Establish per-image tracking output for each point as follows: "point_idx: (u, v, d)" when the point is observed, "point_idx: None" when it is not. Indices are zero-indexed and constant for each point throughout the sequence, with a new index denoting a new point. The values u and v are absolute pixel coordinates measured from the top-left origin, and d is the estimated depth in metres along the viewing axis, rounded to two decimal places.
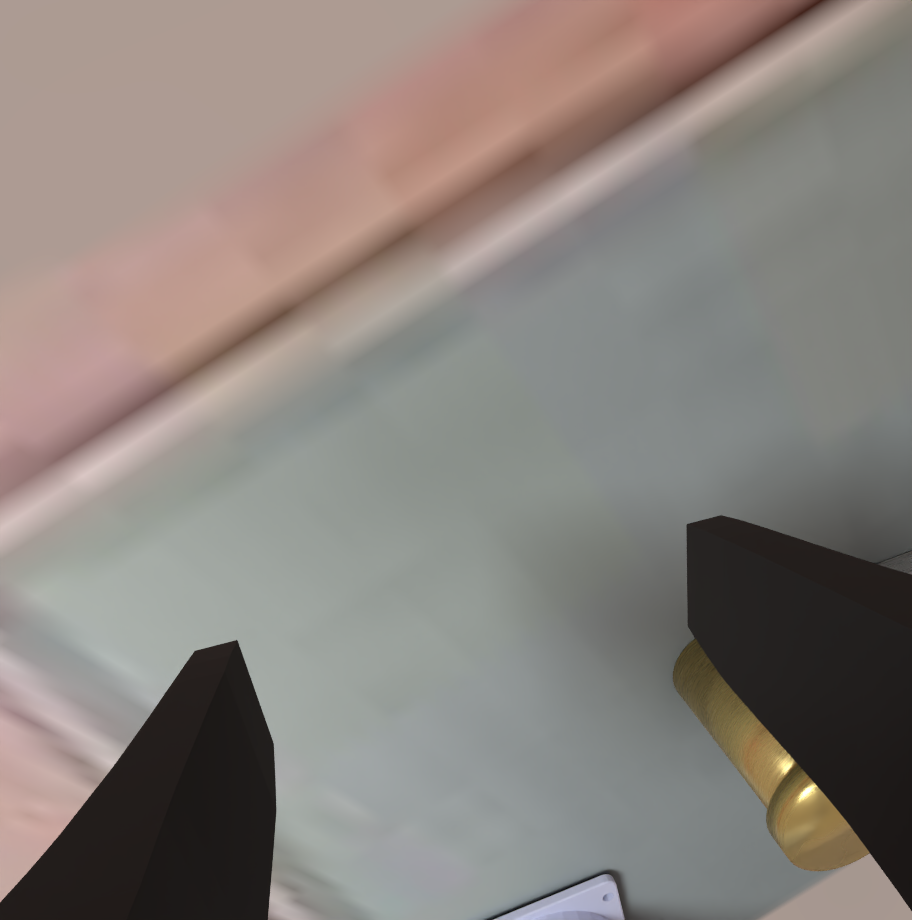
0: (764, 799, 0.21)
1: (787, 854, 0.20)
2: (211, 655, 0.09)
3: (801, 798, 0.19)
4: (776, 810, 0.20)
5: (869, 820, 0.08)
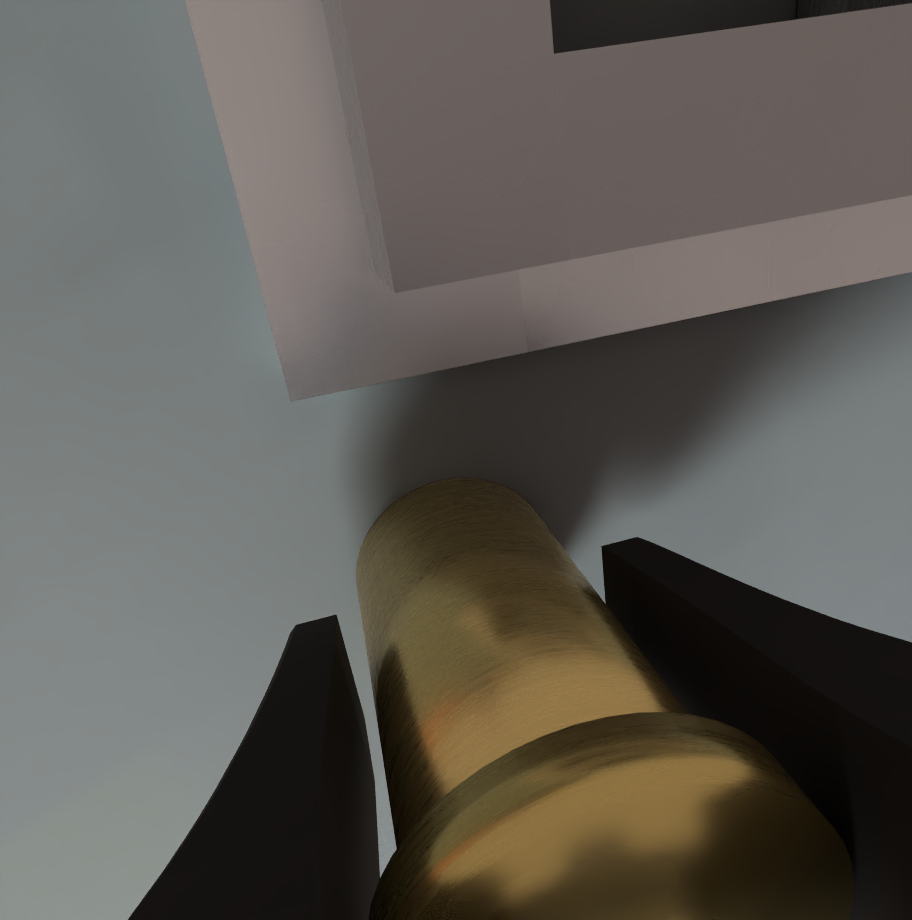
0: None
1: None
2: (316, 629, 0.09)
3: None
4: None
5: None
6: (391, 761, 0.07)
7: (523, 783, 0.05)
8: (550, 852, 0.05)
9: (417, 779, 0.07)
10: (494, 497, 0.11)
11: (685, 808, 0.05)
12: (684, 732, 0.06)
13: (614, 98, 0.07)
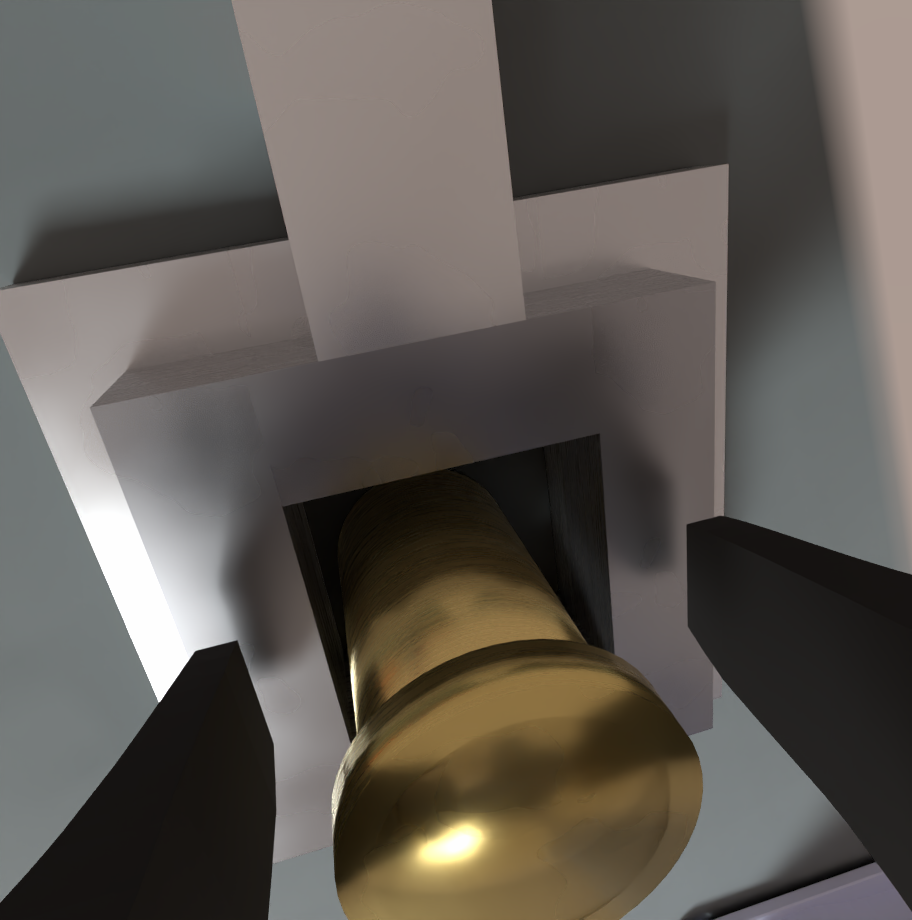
0: None
1: None
2: (211, 655, 0.09)
3: None
4: None
5: (869, 820, 0.08)
6: (358, 686, 0.09)
7: (451, 681, 0.07)
8: (466, 727, 0.07)
9: (377, 693, 0.08)
10: (458, 485, 0.13)
11: (567, 701, 0.07)
12: (575, 653, 0.07)
13: None
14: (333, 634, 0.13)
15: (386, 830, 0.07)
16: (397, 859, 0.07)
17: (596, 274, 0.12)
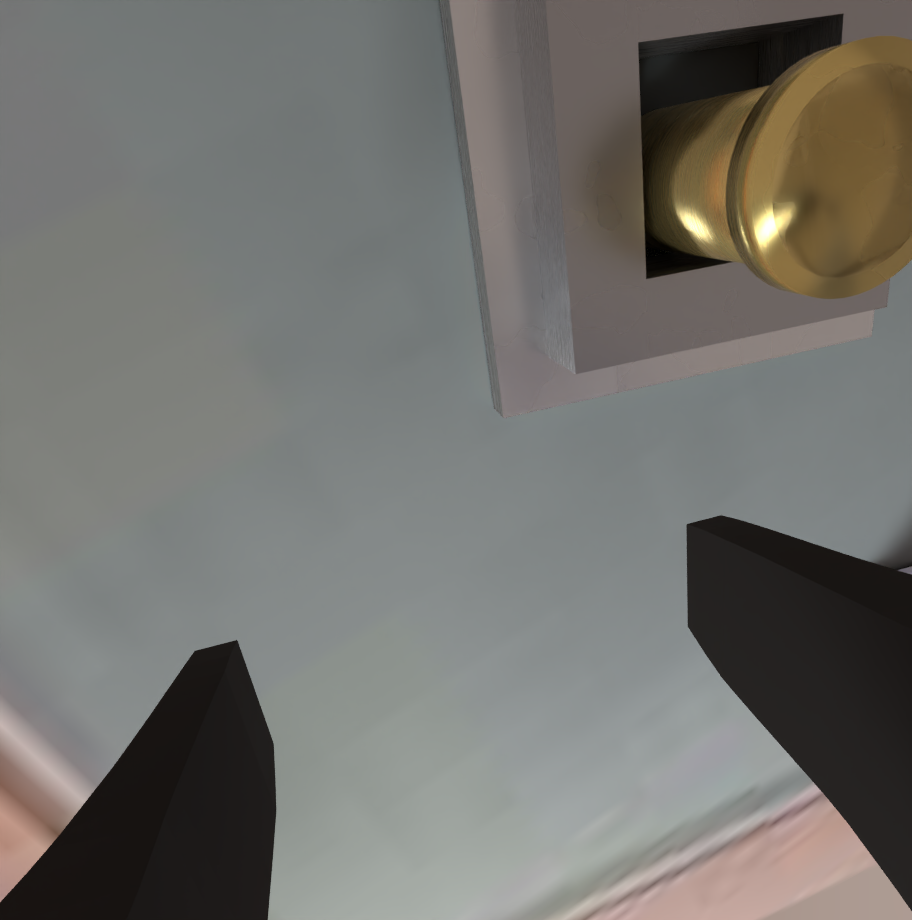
0: None
1: (865, 290, 0.13)
2: (211, 655, 0.09)
3: (773, 270, 0.12)
4: (789, 291, 0.13)
5: (869, 820, 0.08)
6: (704, 150, 0.14)
7: (829, 48, 0.12)
8: (849, 57, 0.11)
9: (739, 122, 0.13)
10: None
11: (903, 53, 0.11)
12: None
13: (669, 294, 0.16)
14: None
15: (790, 137, 0.11)
16: (790, 165, 0.12)
17: None
